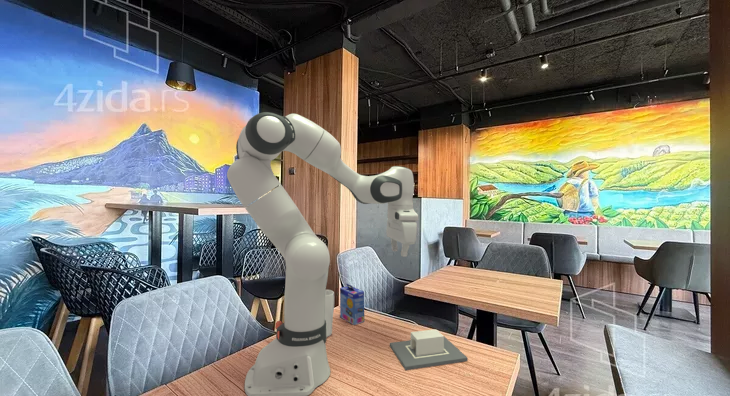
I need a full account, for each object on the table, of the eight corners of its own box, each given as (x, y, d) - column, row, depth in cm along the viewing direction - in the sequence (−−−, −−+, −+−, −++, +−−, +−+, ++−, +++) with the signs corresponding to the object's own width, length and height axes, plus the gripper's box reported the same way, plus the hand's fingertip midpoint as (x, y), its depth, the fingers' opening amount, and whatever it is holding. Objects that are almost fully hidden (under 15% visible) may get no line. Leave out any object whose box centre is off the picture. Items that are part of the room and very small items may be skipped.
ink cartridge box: (339, 317, 119) (339, 281, 119) (349, 314, 123) (350, 279, 123) (353, 325, 112) (354, 288, 112) (364, 321, 115) (365, 285, 115)
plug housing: (416, 355, 89) (417, 339, 89) (410, 347, 94) (410, 332, 94) (443, 352, 91) (443, 336, 91) (435, 344, 96) (436, 329, 96)
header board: (405, 370, 84) (405, 356, 84) (389, 345, 97) (389, 333, 97) (467, 361, 88) (467, 347, 88) (444, 339, 102) (444, 327, 102)
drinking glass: (330, 339, 101) (330, 296, 101) (312, 337, 102) (312, 294, 102) (336, 331, 107) (336, 290, 107) (318, 329, 109) (319, 288, 109)
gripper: (382, 211, 111) (381, 248, 111) (401, 215, 91) (400, 260, 91) (398, 212, 112) (397, 248, 112) (420, 215, 93) (419, 259, 93)
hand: (399, 253), depth 102 cm, fingers open, 8 cm apart
